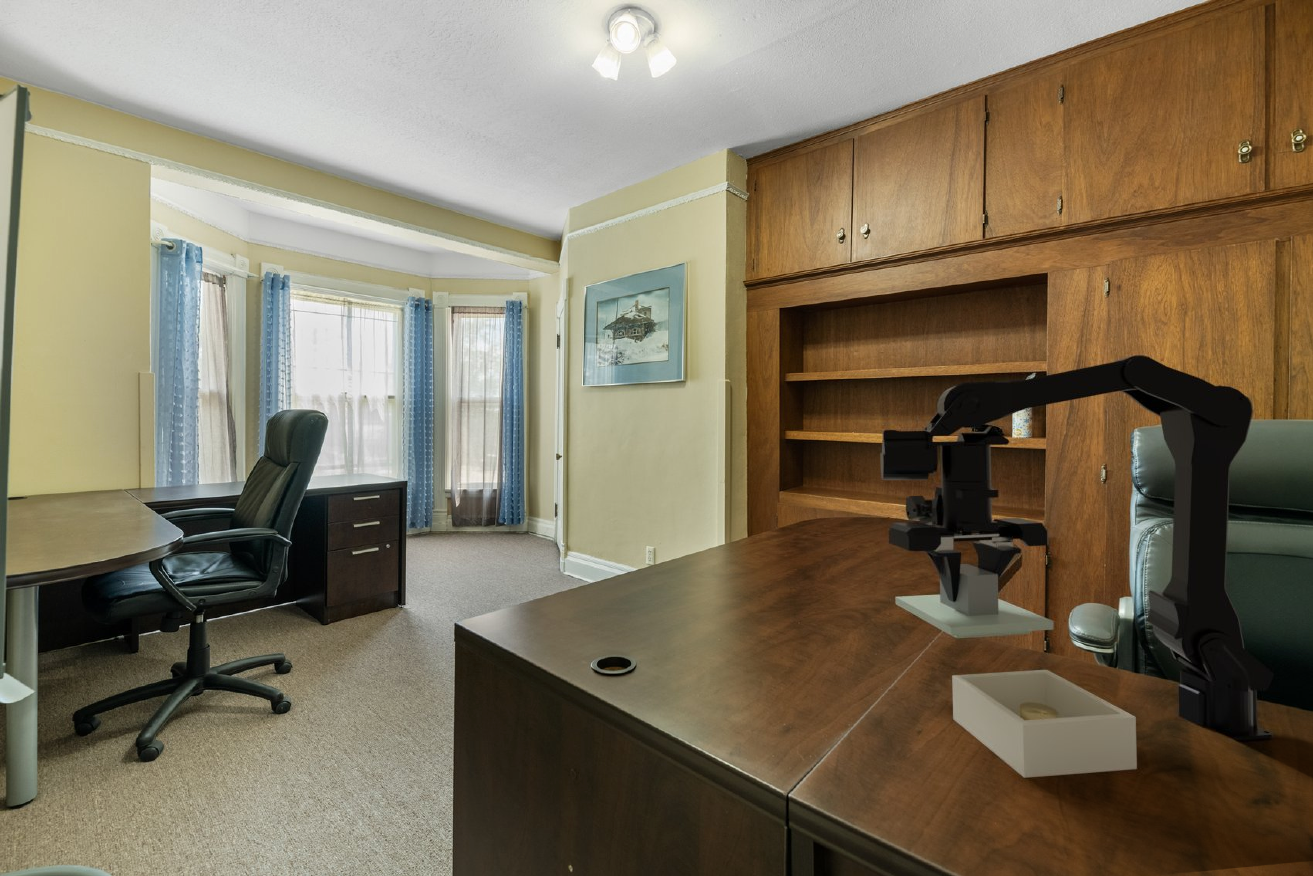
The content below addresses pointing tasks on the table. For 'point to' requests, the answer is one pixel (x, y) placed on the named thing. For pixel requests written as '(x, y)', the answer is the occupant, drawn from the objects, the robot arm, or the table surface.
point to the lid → (974, 608)
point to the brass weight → (1037, 711)
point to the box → (1044, 724)
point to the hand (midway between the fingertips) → (968, 600)
